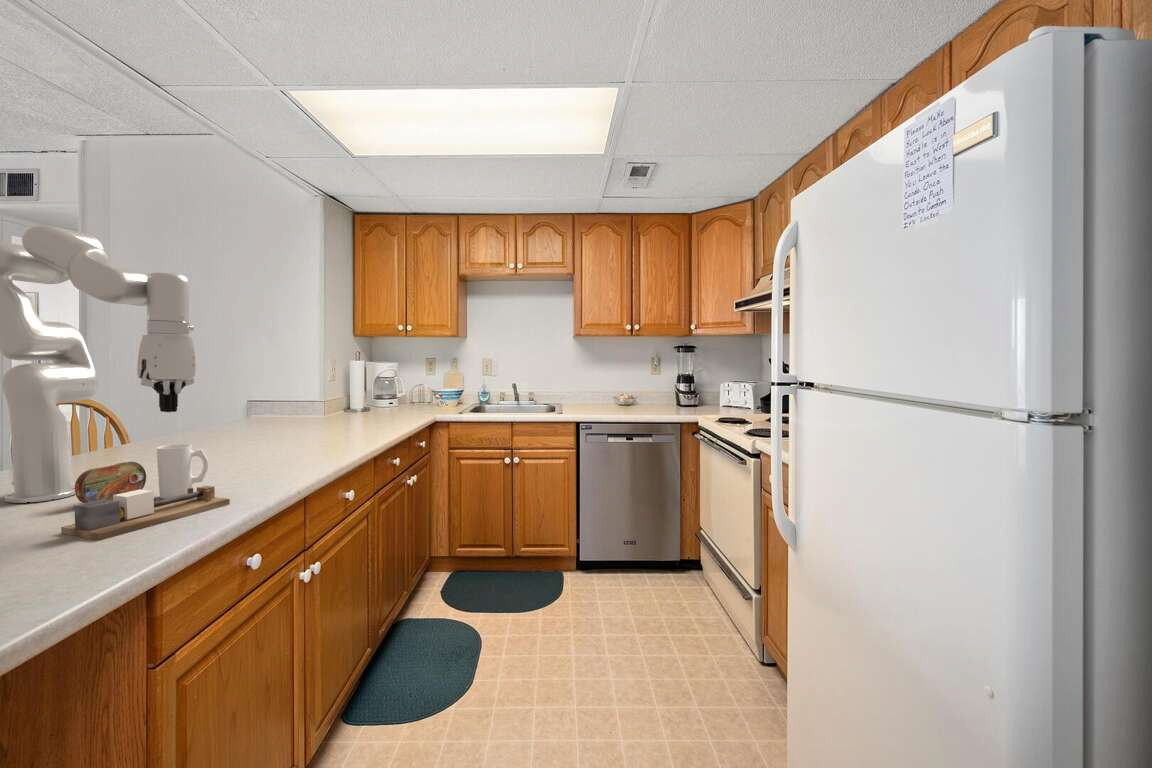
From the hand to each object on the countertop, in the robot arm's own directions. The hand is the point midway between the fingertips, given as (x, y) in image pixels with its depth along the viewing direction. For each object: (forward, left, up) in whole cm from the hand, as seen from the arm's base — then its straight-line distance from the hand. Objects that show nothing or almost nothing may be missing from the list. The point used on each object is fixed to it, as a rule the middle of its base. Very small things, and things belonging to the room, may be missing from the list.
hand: (168, 411), depth 124 cm
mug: (-6, +7, -22) cm, 23 cm away
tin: (-17, -2, -22) cm, 27 cm away
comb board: (+6, -8, -21) cm, 24 cm away
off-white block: (+6, -12, -20) cm, 24 cm away
